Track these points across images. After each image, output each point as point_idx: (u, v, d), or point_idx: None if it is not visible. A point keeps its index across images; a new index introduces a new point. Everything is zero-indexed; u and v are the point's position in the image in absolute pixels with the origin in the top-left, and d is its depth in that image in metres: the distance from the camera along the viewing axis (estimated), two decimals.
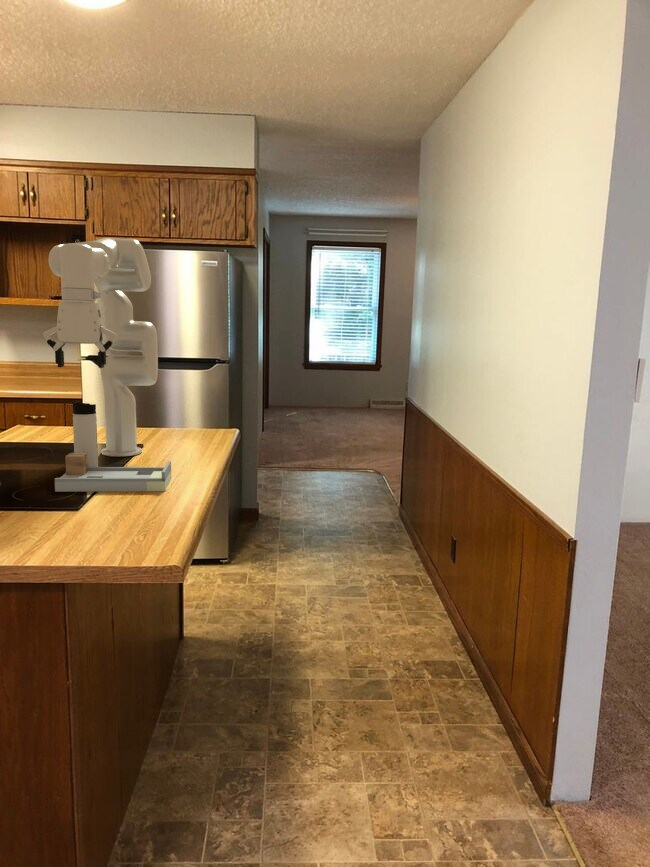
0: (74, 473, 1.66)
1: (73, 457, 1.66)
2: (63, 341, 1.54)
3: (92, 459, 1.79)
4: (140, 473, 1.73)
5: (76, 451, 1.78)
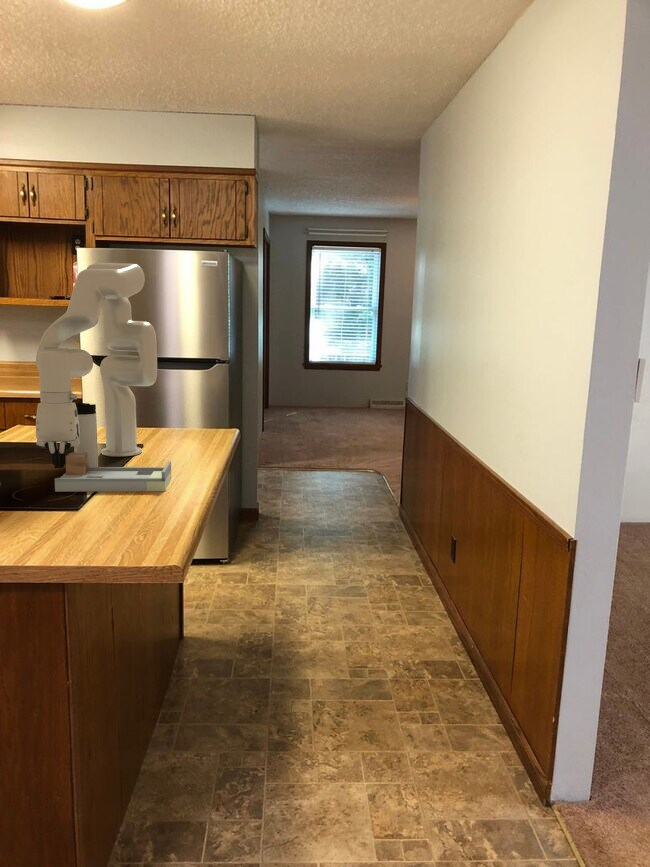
0: (74, 473, 1.66)
1: (73, 457, 1.66)
2: (41, 440, 1.64)
3: (92, 459, 1.79)
4: (140, 473, 1.73)
5: (76, 451, 1.78)
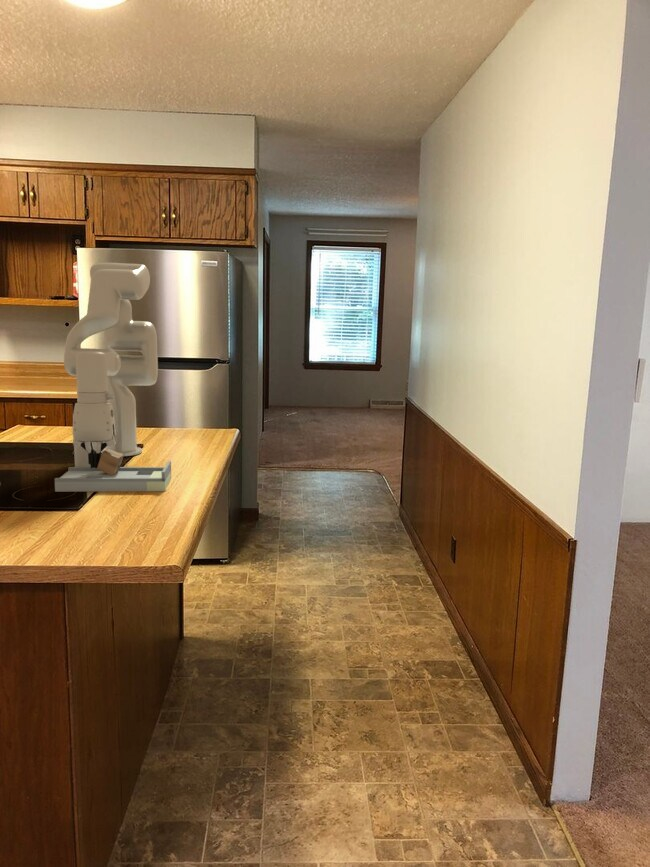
0: (104, 471, 1.67)
1: (109, 455, 1.66)
2: (78, 440, 1.65)
3: None
4: (140, 473, 1.73)
5: (76, 451, 1.78)
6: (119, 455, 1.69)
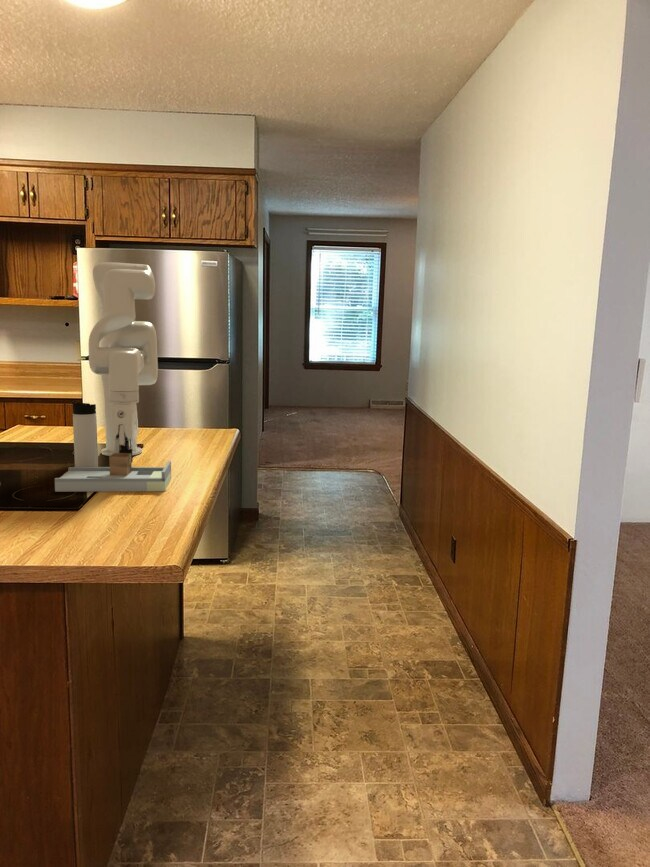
0: (118, 474, 1.67)
1: (117, 458, 1.66)
2: None
3: (91, 459, 1.79)
4: (140, 473, 1.73)
5: (76, 451, 1.78)
6: (126, 455, 1.69)
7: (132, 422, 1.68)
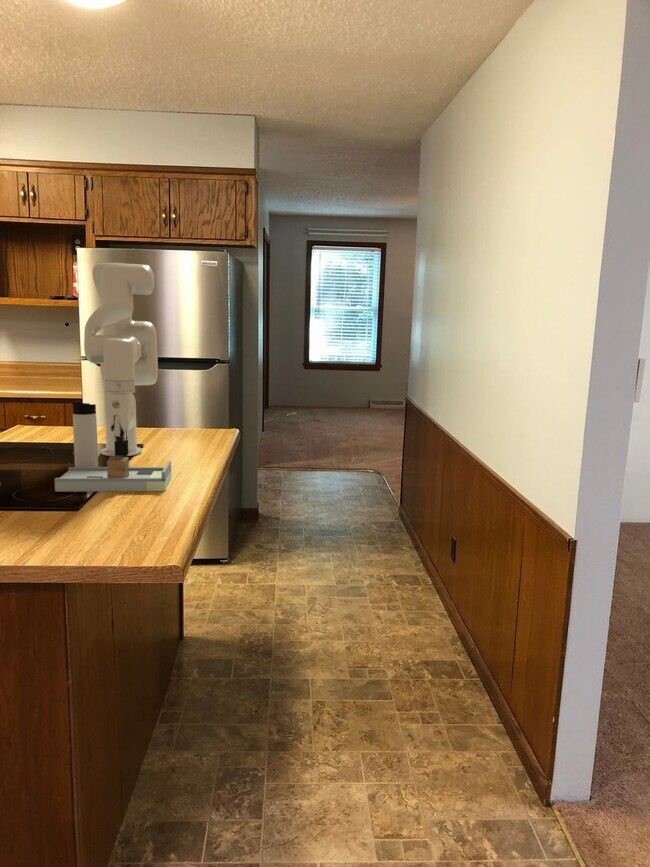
0: None
1: (115, 462, 1.62)
2: None
3: (92, 459, 1.79)
4: (140, 473, 1.73)
5: (76, 451, 1.78)
6: (124, 458, 1.64)
7: (128, 412, 1.62)
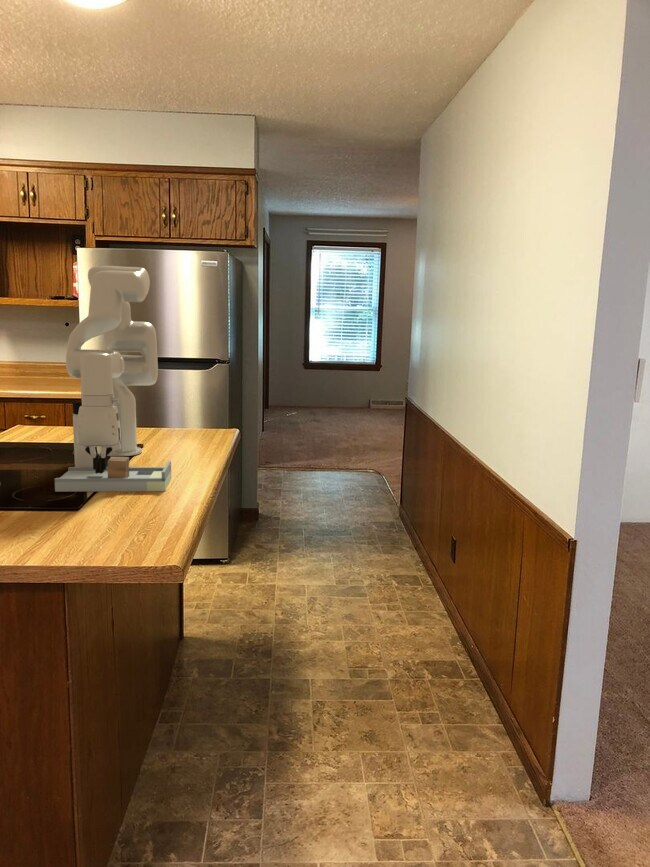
0: None
1: (115, 461, 1.62)
2: (83, 444, 1.60)
3: (92, 459, 1.79)
4: (140, 473, 1.73)
5: (76, 451, 1.78)
6: (125, 458, 1.64)
7: None
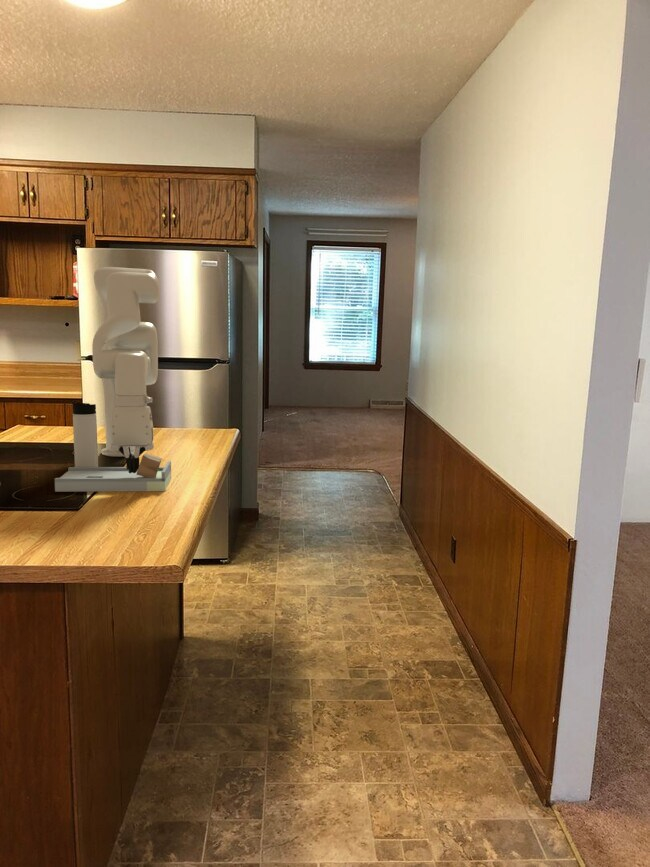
0: (145, 475, 1.63)
1: (149, 459, 1.63)
2: (116, 444, 1.61)
3: (92, 459, 1.79)
4: None
5: (76, 451, 1.78)
6: (158, 459, 1.65)
7: None
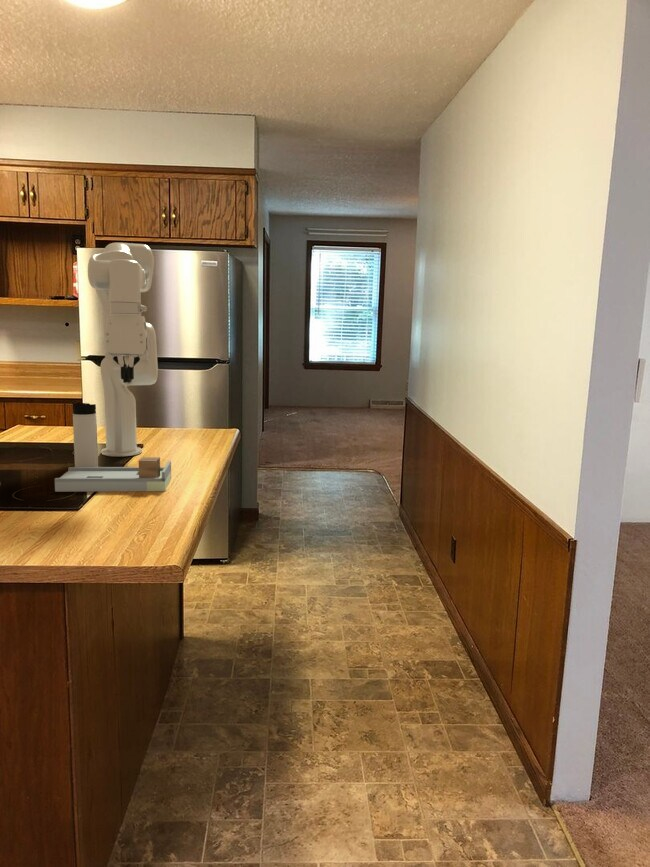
0: None
1: (146, 461, 1.63)
2: (111, 352, 1.61)
3: (92, 459, 1.79)
4: None
5: (76, 451, 1.78)
6: (156, 458, 1.65)
7: None
